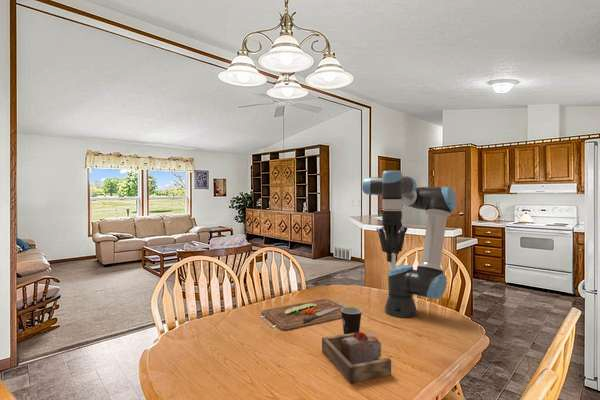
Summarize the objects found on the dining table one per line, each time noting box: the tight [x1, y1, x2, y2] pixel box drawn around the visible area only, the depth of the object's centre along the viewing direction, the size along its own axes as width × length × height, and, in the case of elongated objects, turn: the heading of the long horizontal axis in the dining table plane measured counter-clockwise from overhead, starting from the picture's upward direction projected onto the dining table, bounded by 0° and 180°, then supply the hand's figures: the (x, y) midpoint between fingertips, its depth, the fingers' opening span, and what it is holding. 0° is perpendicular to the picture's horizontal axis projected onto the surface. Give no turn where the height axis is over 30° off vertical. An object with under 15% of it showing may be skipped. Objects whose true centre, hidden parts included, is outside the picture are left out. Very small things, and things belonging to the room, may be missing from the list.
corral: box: [321, 333, 392, 384], centre depth 120 cm, size 15×23×5 cm, turn 19°
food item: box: [340, 331, 382, 365], centre depth 121 cm, size 14×8×10 cm, turn 116°
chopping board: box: [259, 298, 348, 332], centre depth 167 cm, size 45×27×3 cm, turn 118°
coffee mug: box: [341, 306, 363, 335], centre depth 145 cm, size 12×9×10 cm
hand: (392, 269), depth 133 cm, fingers closed
